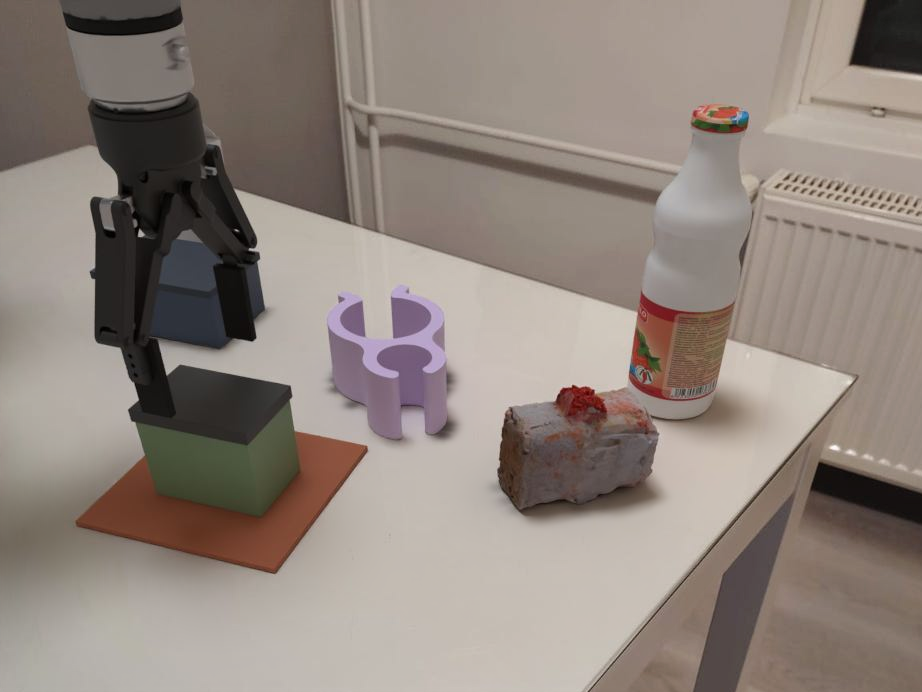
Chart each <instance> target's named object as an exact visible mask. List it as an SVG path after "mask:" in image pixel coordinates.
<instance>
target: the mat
mask: <svg viewBox="0 0 922 692" xmlns="http://www.w3.org/2000/svg"><path fill="white" fill-rule="evenodd" d="M295 436H296V443H297V449H298V456H299V462H300V468H301V470H300V471H299V472H298V474H297V475H296V476H295V477H294V478H293V480H292V481H291V482H290V483H289V485H288V486H287V487H286V488H285V489H284V491H283V492H282V493H281V494H280V495H279V497H278V498H277V499H276V500H275V502H274V503H273V504H272V505H271V506H270V508H269V509H268V510H267V511H266V513H265V514H264V515H263V516H262V517H257V516H253V515H249V514H244V513H240V512H235V511H231V510H227V509H222V508H218V507H213V506H209V505H205V504H200V503H196V502H191V501H187V500H182V499H178V498H174V497H169V496H165V495H160V494H157V493H156V490H155V487H154V484H153V480H152V477H151V474H150V470H149V467H148V464H147V460H146V457H145V455H143V456H142V457H141V458H140V459H139V460H138V461H137V462H136V463H135V464H134V465H133V466H132V467H131V468H130V469H129V470H128V471H127V472H126V473H124V475H122V476H121V477H120V478H119V479H118V480H117V481H116V482H115V483H114V484H112V486H110V488H109V489H108V490H107V491H106V492H104V493H103V495H101V496H100V497H99V498H98V499H97V500H96V501H95V502H94V503H93V504H92V505H91V506H89V508H87V510H86V511H84V512H83V513H82V514H81V515H80V516H79V517H78V518H77V519H76V520H75V521H74V522H75V524H76V526H78V527H82V528H85V529H90V530H93V531H99V532H102V533H107V534H111V535H114V536H119V537H123V538H127V539H132V540H136V541H140V542H144V543H147V544H153V545H156V546H161V547H165V548H169V549H173V550H178V551H182V552H185V553H189V554H193V555H198V556H202V557H206V558H211V559H215V560H218V561H223V562H227V563H232V564H235V565H240V566H243V567H248V568H251V569H256V570H259V571H264V572H268V573H273V574H276V573H277V571H278V570H279V569H280V567H282V565H283V564H284V562H285V561H286V560H287V559H288V557H289V556H290V554H291V553H292V552H293V550H294V549H295V547H296V546H297V545H298V544H299V542H300V541H301V539H303V537H304V536H305V534H306V533H307V532H308V530H309V529H310V528H311V526H312V525H313V523H314V522H315V521H316V520H317V519H318V517H319V515H320V514H321V513H322V511H323V510H324V509H325V508H326V507H327V505H328V504H329V502H330V501H331V499H332V498H333V497H334V495H336V493H337V491H338V490H339V489H340V488H341V486H342V485H343V484H344V482H345V481H346V479H347V478H348V477H349V475H350V474H351V473H352V472H353V470H354V469H355V467H356V466H357V465H358V463H359V462H360V461H361V460H362V458H363V457H364V455H365V454H366V453H367V452H368V449H369V448H368V447H369V446H368V445H366V444H361V443H356V442H351V441H347V440H341V439H336V438H332V437H326V436H321V435H317V434H316V435H315V434H312V433H306V432H303V431H297V430H295Z"/></svg>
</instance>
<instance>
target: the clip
mask: <svg viewBox="0 0 922 692" xmlns="http://www.w3.org/2000/svg"><path fill="white" fill-rule="evenodd" d="M337 299H338V301H337V302H338V303H337V304H336V305H335V306H333V307H332V308H331V310H330V311H329V312H328V314H327V317H326V325H327V332H328V333H327V334H328V343H329V350H330V351H329V352H330V359H331V368H332V376H333V377H332V378H333V383H334V385H335V388H336V390H337V391H338V392H339V393H340V394H341V395H343V396H344V397H346V398H347V399H350V400H352V401H355V402H357V403H359V404H362V405H364V406H365V407H366V412H367V413H366V414H367V415H366V416H367V423H368V425H369V428H370V429H371V430H372V431H373V432H374V433H376V434H377V435H380V436H381V437H384V438H386V439H390V440H395V441H397V440H401V439H402V438H403V423H402V407H401V406H409V405H410V406H418V407H421V408H423V415H424V416H423V417H424V432H425V433H427V434H428V435H436V434H438V433H439V432H440V431H442V429H443V428H444V427H445V426H446V424H447V422H448V402H447V401H448V397H447V393H448V392H447V389H448V387H447V354H446V337H445V336H446V335H445V334H446V333H445V332H446V331H445V329H446V328H445V314H444V311H443V309H442V308H441V306H440V305H438V304H437V303H436V302H435V301H433V300H431V299H429V298H427V297H424V296H421V295H417V294H413V293H410V286H409V285H406V284H399V285H397V286H395V288H394V289H392V290H391V292H390V306H391V307H390V308H391V324H392V338H371V337H367V336H366V325H365V324H366V323H365V313H364V312H365V311H364V302H363V301H364V300H363V298H362V297H361V296H360V295H358V294H356V293H352V292H349V291H347V290H345V291H344V290H343V291H340V292H338V293H337Z"/></svg>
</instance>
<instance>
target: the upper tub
mask: <svg viewBox="0 0 922 692" xmlns="http://www.w3.org/2000/svg"><path fill="white" fill-rule="evenodd" d="M166 375H167V379H168V383H169V387H170V391H171V394H172V398H173V402H174V406H175V410H176V415H175V416H173V417H172V418H167V417H162V416H157V415H153V414H148V413H144V412H142V409H141V406H140V402H139V399H138V400H136V402H135V403H133V404H132V405H131V406H130V407H129V408H128V409H127V412H128V415H129V419H130V422H132V423H135V427H136V429H137V433H138V437H139V439H140V444H141V446H142V450H143V453H144V456H145V457H146V460H147V464H148V467H149V470H150V474H151V477H152V480H153V484H154V487H155V490H156V493H157V494H160V495H165V496H169V497H174V498H178V499H182V500H187V501H191V502H196V503H200V504H205V505H209V506H213V507H218V508H222V509H227V510H231V511H235V512H240V513H244V514H249V515H253V516H257V517H262V516H263V515H264V514H265V513H266V511H267V510H268V509H269V508H270V506H271V505H272V504H273V503H274V502H275V500H276V499H277V498H278V497H279V495H280V494H281V493H282V492H283V491H284V489H285V488H286V487H287V486H288V485H289V483H290V482H291V481H292V480H293V478H294V477H295V476H296V475H297V474H298V472H299V471H300V470H301V468H300V462H299V456H298V449H297V443H296V436H295V431H296V430H295V424H294V418H293V411H292V404H291V400H292V399H293V390H292V385H289V384H286V383H285V384H284V383H280V382H275V381H269V380H263V379H259V378H253V377H248V376H243V375H238V374H231V373H227V372H221V371H218V370H211V369H205V368H200V367H197V366H190V365H185V364H179V365H177V366H176V367H175V368H174V369H172V371H170V372H169V373H168V374H166Z"/></svg>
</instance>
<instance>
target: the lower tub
mask: <svg viewBox="0 0 922 692" xmlns="http://www.w3.org/2000/svg"><path fill="white" fill-rule="evenodd" d="M142 237H143V238H149V237H147V236H146V235H145V234H144V235H143V236H142ZM149 239H153V238H149ZM248 251H251V250H250V249H249V250H248ZM252 251H253V252H255V253H256V263H255V265H254V266H251V265H245V267H246V273H247V280H248V285H249V295H250V301H251V307H252V313H253V319H254V320H255V318H257V317H258V316H259V315H260V314H261V313H262V312H263V311H265V309H266V306H265V300H264V294H263V286H262V281H261V276H260V270H259V261H260V260H261V254H260V251H257V250H252ZM216 263H221V264H223V261H222V260H219V259H218V258H217V257H216V256H215V255H214V254H213V253H212V252H211V251H210V250H209V248H208V247H207V246H206V245H205V244H204V243H199V242H193V241H187V240H180V239H175V240H174V241H172V245H171V251H170V253H169V254H168V255H167V256H165V257H164V258H163V262H162V268H161V273H160V279H159V285H158V290H157V296H156V302H155V307H154V313H153V319H152V324H151V330H150V336H149V337H155V338H160V339H166V340H171V341H177V342H182V343H188V344H193V345H199V346H204V347H209V348H215V349H222V348H223V347H224V346H225V345H226V344H227V343H229V342H230V341H231V340H232V339H233V338H230V337H226V333H225V328H224V322H223V317H222V312H221V307H220V302H219V296H218V291H217V286H216V281H215V276H214V271H213V266H214V265H215V264H216ZM89 275H90V278H91V279H92V280H95V267H94V268H92V269H91V270H89ZM134 328H135V323H134Z"/></svg>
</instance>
